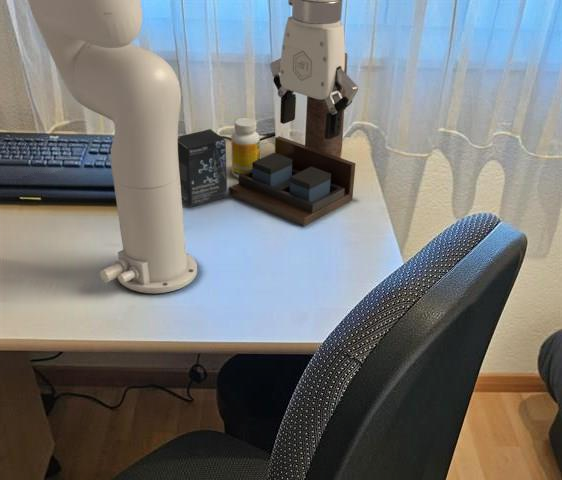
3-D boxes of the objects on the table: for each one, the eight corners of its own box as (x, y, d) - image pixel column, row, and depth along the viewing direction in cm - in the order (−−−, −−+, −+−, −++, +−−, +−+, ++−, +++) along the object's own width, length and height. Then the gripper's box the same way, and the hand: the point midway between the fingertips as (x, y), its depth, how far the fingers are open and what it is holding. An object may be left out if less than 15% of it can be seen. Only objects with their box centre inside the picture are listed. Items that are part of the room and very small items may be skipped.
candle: (307, 152, 153) (312, 40, 139) (343, 155, 152) (352, 43, 138) (301, 167, 148) (305, 53, 133) (338, 170, 147) (346, 56, 133)
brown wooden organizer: (304, 226, 131) (305, 188, 126) (228, 195, 139) (227, 158, 134) (352, 200, 138) (355, 163, 133) (278, 172, 146) (279, 135, 141)
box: (190, 208, 135) (186, 147, 127) (175, 196, 138) (170, 136, 130) (228, 198, 138) (226, 138, 130) (213, 186, 141) (210, 127, 133)
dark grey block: (270, 191, 137) (270, 169, 134) (252, 184, 139) (252, 162, 136) (291, 181, 140) (292, 159, 137) (273, 174, 142) (273, 152, 139)
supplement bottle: (230, 169, 147) (228, 117, 140) (256, 167, 148) (256, 115, 141) (234, 180, 143) (233, 128, 136) (262, 178, 144) (262, 126, 137)
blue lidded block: (308, 206, 133) (309, 184, 130) (289, 199, 135) (289, 176, 132) (329, 195, 136) (331, 173, 133) (310, 188, 138) (311, 166, 135)
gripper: (258, 3, 116) (256, 121, 128) (347, 26, 108) (336, 149, 121) (289, -4, 120) (285, 111, 132) (377, 18, 113) (364, 137, 125)
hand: (309, 129), depth 126 cm, fingers open, 9 cm apart
